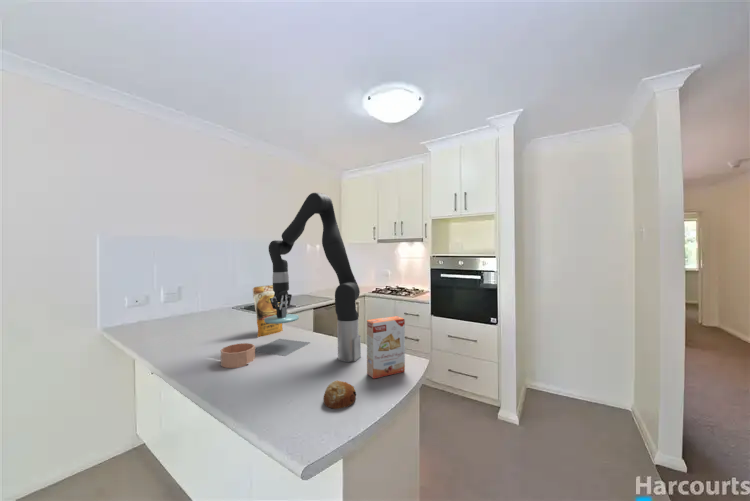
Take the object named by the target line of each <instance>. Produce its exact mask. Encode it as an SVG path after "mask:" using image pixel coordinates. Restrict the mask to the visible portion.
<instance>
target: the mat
mask: <svg viewBox="0 0 750 501" xmlns="http://www.w3.org/2000/svg"><path fill="white" fill-rule="evenodd" d="M310 344H311V342H309V341H300V340H294V339H285V338H278V339H275V340H273V341H271V342H268V343H266V344H263V345H261V346H259V347H257V348H256V347H255V353H262V354H267V355H268V354H269V355H274V356H275V355H277V356H283V357H286V356H288V355H290V354H292V353H294V352H296V351H298V350H300V349H302V348H303V347H305V346H308V345H310Z"/></svg>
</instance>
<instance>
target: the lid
mask: <svg viewBox="0 0 750 501" xmlns="http://www.w3.org/2000/svg"><path fill="white" fill-rule="evenodd" d="M281 315H282V317H277V315H274V316H269V317H267V318H265V319H264V322H265V323H270V324H280V323H282V324H287V323H292V322H295V321H298V320H299V318H300V317H299V315H298V314H293V313H287V314H286V307H281Z"/></svg>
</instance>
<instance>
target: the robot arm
mask: <svg viewBox="0 0 750 501" xmlns="http://www.w3.org/2000/svg"><path fill="white" fill-rule="evenodd" d="M305 198H306V199H305V200H304V202H303V203H302V205H301V207H300V208H299V210H298V212H297V214H296V215H295V217H293V220H292V221H291V222H290V223H289V225H288V226H287V227H286V229H284V230H283V232H282V234H281V239H282V240H275V239H274V240H272V241H270V242H269V244H268V254H269V256H270V259H271V263H272V285H273V291H274V292H275V293H274V297H273V298H270V301H271V304H272V307H273V309H276V311H277V317H282V315H281V306H282V307H286V314H288V313H287V312H288V310H287V308H288V307H290V305H291V301H292V296H293V295H292V294H290V293H289V292H288V291H289V290H290V281H289V278H290V277H289V264H288V260H286V259H283V258H282V255H284V256H286V255H288V254H289V253H290V252H291V251H292V249H293V247H294V244H295V242H296V241H297V240H298V239H299V238H300V237H301V236H302V234H303V233H304V231H305V227H306V225H307V223H308V221H309V220H310V218H311V217H313V216H314V215H317V214H318V215H319V217H320V220H321V222H322V236H321V244H322V248H323V251H324V255H325V258H326V260H327V261H328V263H329V265H330V266H331V267H332V269H333V270H334V273H335V274H336V277H337V281H338V283H339V285H338V286H337V287H336V288H335V291H334V309H335V314H336V320H337V321H336V323H337V326H336V327H337V359H338V360H339V361H340V362H344V363H345V362H347V363H350V362H356V361H358V360H359V359H360V358H361V357H362V353H361V350H362V349H361V345H362V344H361V343H362V342H361V335H359V333H360V332H359V312H358V311H357V307H356V306H357V304H356V301H357V300H358V299H359V297H360V293H361V292H360V287H359V285H358V282H357V281H356V278H355V275H354V274H353V271H352V268H351V264H350V260H349V256H348V254H347V250H346V247H345V244H344V241H343V239H342V235H341V232H340V228H339V225H338V222H337V219H336V214H335V208H334V204H333V201H332V199H331V197H330V196H329V194H326V193H320V192H312V193H310V194H308V195H307V196H306V197H305ZM278 302H280V303H278ZM278 305H279V307H278Z"/></svg>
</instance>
